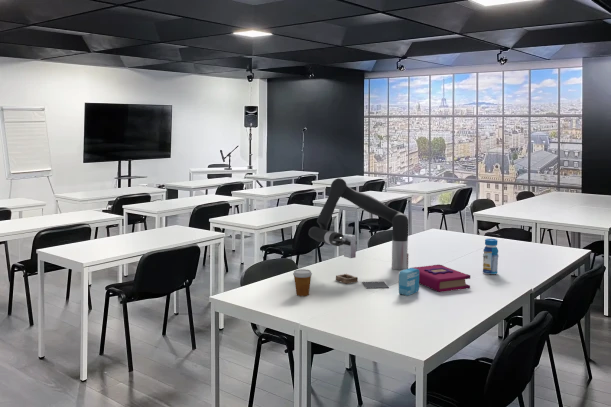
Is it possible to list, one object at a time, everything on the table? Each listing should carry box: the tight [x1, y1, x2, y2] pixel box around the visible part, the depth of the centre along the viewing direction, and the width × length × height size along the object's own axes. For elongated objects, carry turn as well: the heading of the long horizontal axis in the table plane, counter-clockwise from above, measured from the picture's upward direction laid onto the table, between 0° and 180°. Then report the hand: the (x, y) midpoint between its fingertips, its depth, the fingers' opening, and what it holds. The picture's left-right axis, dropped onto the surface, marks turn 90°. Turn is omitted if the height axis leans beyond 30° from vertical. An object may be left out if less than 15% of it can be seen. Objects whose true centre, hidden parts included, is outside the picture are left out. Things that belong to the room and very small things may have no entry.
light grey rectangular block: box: [343, 233, 357, 259], centre depth 303 cm, size 6×4×12 cm, turn 34°
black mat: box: [362, 280, 390, 290], centre depth 297 cm, size 12×12×1 cm
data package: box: [398, 267, 420, 296], centre depth 282 cm, size 12×4×12 cm, turn 136°
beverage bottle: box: [482, 238, 499, 275], centre depth 320 cm, size 8×8×20 cm
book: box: [412, 264, 471, 293], centre depth 300 cm, size 21×28×8 cm
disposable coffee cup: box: [293, 268, 313, 297], centre depth 280 cm, size 10×10×12 cm
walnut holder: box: [335, 273, 358, 285], centre depth 306 cm, size 10×7×2 cm
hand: (353, 243), depth 300 cm, fingers closed on light grey rectangular block, 3 cm apart
